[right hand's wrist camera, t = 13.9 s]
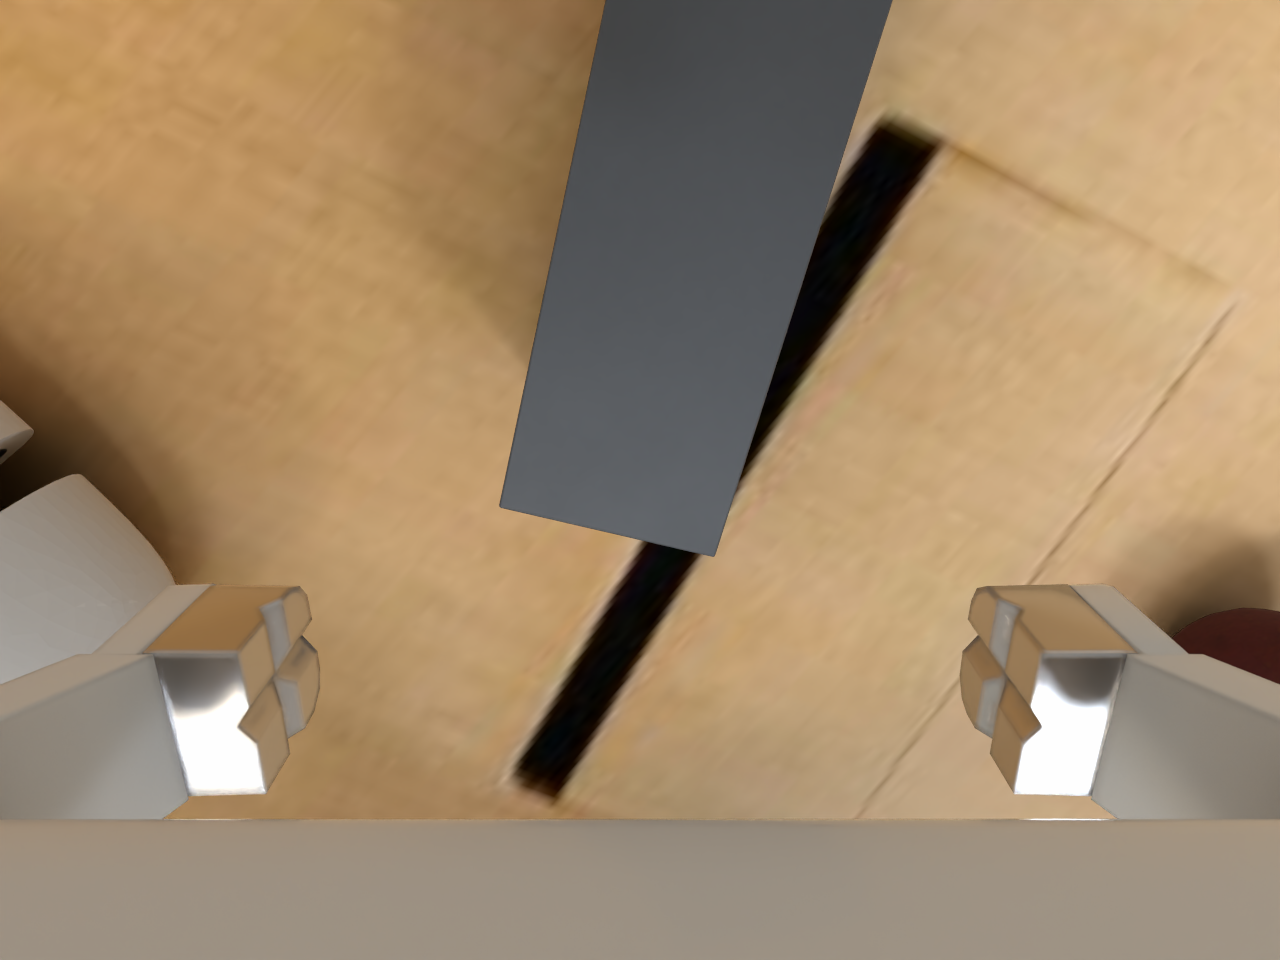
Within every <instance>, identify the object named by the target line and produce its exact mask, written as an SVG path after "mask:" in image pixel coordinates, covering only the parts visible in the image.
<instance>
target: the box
mask: <svg viewBox="0 0 1280 960" xmlns="http://www.w3.org/2000/svg"><path fill="white" fill-rule="evenodd" d="M892 1H893V0H606V1H605V6H604V11H603V15H602V20H601V25H600V30H599V34H598V39H597V44H596V49H595V53H594V58H593V63H592V68H591V72H590V77H589V82H588V87H587V91H586V96H585V101H584V106H583V110H582V115H581V120H580V125H579V129H578V134H577V139H576V144H575V148H574V153H573V158H572V163H571V167H570V172H569V177H568V182H567V186H566V191H565V196H564V201H563V205H562V210H561V215H560V219H559V224H558V229H557V234H556V238H555V243H554V248H553V253H552V257H551V262H550V267H549V272H548V276H547V281H546V286H545V291H544V295H543V300H542V305H541V310H540V314H539V319H538V324H537V329H536V333H535V338H534V343H533V348H532V352H531V357H530V362H529V367H528V371H527V376H526V381H525V386H524V390H523V395H522V400H521V405H520V409H519V414H518V419H517V424H516V428H515V433H514V438H513V443H512V447H511V452H510V457H509V462H508V466H507V471H506V476H505V481H504V485H503V490H502V495H501V500H500V504H499V506H500V507H501V508H504V509H509V510H513V511H517V512H522V513H526V514H530V515H535V516H539V517H543V518H548V519H552V520H556V521H561V522H565V523H569V524H574V525H578V526H582V527H587V528H591V529H595V530H599V531H604V532H608V533H612V534H617V535H621V536H625V537H630V538H634V539H638V540H643V541H647V542H651V543H656V544H660V545H664V546H669V547H673V548H677V549H682V550H686V551H690V552H695V553H699V554H703V555H708V556H712V557H714V556H715V554H716V551H717V548H718V545H719V541H720V538H721V535H722V532H723V529H724V526H725V523H726V520H727V516H728V513H729V510H730V507H731V504H732V501H733V498H734V495H735V491H736V488H737V485H738V482H739V479H740V476H741V473H742V470H743V466H744V463H745V460H746V457H747V454H748V451H749V448H750V445H751V441H752V438H753V435H754V432H755V429H756V426H757V423H758V420H759V416H760V413H761V410H762V407H763V404H764V401H765V398H766V394H767V391H768V388H769V385H770V382H771V379H772V376H773V373H774V369H775V366H776V363H777V360H778V357H779V354H780V351H781V348H782V344H783V341H784V338H785V335H786V332H787V329H788V326H789V323H790V319H791V316H792V313H793V310H794V307H795V304H796V301H797V298H798V294H799V291H800V288H801V285H802V282H803V279H804V276H805V273H806V269H807V266H808V263H809V260H810V257H811V254H812V251H813V248H814V244H815V241H816V238H817V235H818V232H819V229H820V226H821V223H822V219H823V216H824V213H825V210H826V207H827V204H828V201H829V198H830V194H831V191H832V188H833V185H834V182H835V179H836V176H837V173H838V169H839V166H840V163H841V160H842V157H843V154H844V151H845V148H846V144H847V141H848V138H849V135H850V132H851V129H852V126H853V123H854V119H855V116H856V113H857V110H858V107H859V104H860V101H861V98H862V94H863V91H864V88H865V85H866V82H867V79H868V76H869V73H870V69H871V66H872V63H873V60H874V57H875V54H876V51H877V48H878V44H879V41H880V38H881V35H882V32H883V29H884V26H885V23H886V19H887V16H888V13H889V10H890V7H891V4H892Z"/></svg>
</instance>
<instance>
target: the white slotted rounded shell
mask: <svg viewBox="0 0 1280 960" xmlns="http://www.w3.org/2000/svg"><path fill="white" fill-rule="evenodd" d="M33 433H34V430H33V429H32V428H31V427H30V426H29V425H28V424H26V423H25V422H24V421H23V420H22V419H21V418H20V417H19V416H18V415H16V414H15V413H14V412H13V411H12V410H11V409H10V408H9V407H8V406H7V405H5V404H4V403H3V402H2V401H1V400H0V465H1V464H2V463H3V462H4V461H5V460H7V459H8V458H9V457H10V456H11V455H13V454H14V453H15V452H16V451H17V450H18V449H20V448H21V447H22V446H23V445H24V444H25V443H26V442H27V441H28V440H29V439H30V438H31V437H32V435H33ZM170 585H176V584H175V582H174V579H173V577H172V575H171V573H170V571H169V570H168V568H167V566H166V565H165V563H164V561H163V560H162V559H161V557H160V556H159V555H158V553H157V552H156V551H155V549H154V548H153V547H152V545H151V544H150V543H149V542H148V541H147V539H146V538H145V537H144V536H143V535H142V534H141V533H140V532H139V531H138V530H137V529H136V527H135V526H134V525H133V524H132V523H131V522H130V521H129V520H128V519H127V518H126V517H125V516H124V515H123V514H122V513H121V512H120V511H119V510H118V509H117V508H116V507H115V506H114V505H113V504H112V503H111V502H110V501H109V500H108V499H107V498H106V497H105V496H104V495H103V494H102V493H101V492H99V491H98V490H97V489H96V488H95V487H94V486H93V485H92V484H91V483H90V482H89V481H88V480H87V479H86V478H85V477H84V476H82V475H81V474H73V475H69V476H66V477H64V478H61V479H59V480H56V481H54V482H52V483H50V484H48V485H46V486H44V487H42V488H40V489H38V490H36V491H35V492H33V493H31V494H29V495H27V496H26V497H24V498H22V499H21V500H19V501H17V502H15V503H14V504H12V505H10V506H9V507H7V508H6V509H4V510H2V511H1V512H0V684H3V683H5V682H8V681H10V680H13V679H15V678H18V677H20V676H23V675H26V674H28V673H31V672H33V671H36V670H38V669H41V668H43V667H46V666H48V665H51V664H54V663H56V662H59V661H61V660H64V659H66V658H69V657H71V656H74V655H76V654H92V653H93V652H94V651H95V650H96V649H97V648H99V647H100V646H101V645H102V644H103V643H104V642H105V641H106V640H108V639H109V638H110V637H111V636H112V635H113V634H114V633H115V632H117V631H118V630H119V629H120V628H121V627H122V626H123V625H124V624H126V623H127V622H128V621H129V620H130V619H131V618H132V617H133V616H135V615H136V614H137V613H138V612H139V611H140V610H141V609H142V608H144V607H145V606H146V605H147V604H148V603H149V602H150V601H151V600H153V599H154V598H155V597H156V596H157V595H158V594H159V593H160V592H162V591H163V590H164V589H165V588H166V587H167V586H170Z"/></svg>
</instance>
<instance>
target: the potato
mask: <svg viewBox="0 0 1280 960" xmlns="http://www.w3.org/2000/svg"><path fill="white" fill-rule="evenodd" d="M1171 639H1173V640H1174V641H1175V642H1176V643H1177V644H1178V645H1179V646H1180V647H1181V648H1183V649H1184V650H1185V651H1186V652H1187V653H1188V654H1204V655H1206V656H1209V657H1211V658H1214V659H1216V660H1219V661H1221V662H1224V663H1226V664H1229V665H1231V666H1234V667H1237V668H1239V669H1242V670H1244V671H1247V672H1249V673H1252V674H1254V675H1257V676H1259V677H1262V678H1264V679H1267V680H1270V681H1272V682H1275V683H1277V684H1280V612H1278V611H1272V610H1266V609H1255V608H1239V609H1233V610H1228V611H1223V612H1218V613H1214V614H1210V615H1208V616H1206V617H1203V618H1201V619H1199V620H1197V621H1195V622H1193V623H1191V624H1189V625H1187V626H1186V627H1185V628H1183V629H1182V630H1181V631H1180V632H1178V633H1177V634H1176V635H1175V636H1174V637H1172V638H1171Z"/></svg>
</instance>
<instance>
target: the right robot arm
mask: <svg viewBox="0 0 1280 960" xmlns="http://www.w3.org/2000/svg"><path fill="white" fill-rule="evenodd" d="M311 620H312V617H311V612H310V607H309V602H308V597H307V594H306V593H305V592H304V591H303V590H302V589H301V587H300V586H263V585H215V584H188V585H170V586H167V587H166V588H165V589H164V590H163V591H162V592H160V593H159V594H158V595H157V596H156V597H155V598H154V599H153V600H151V601H150V602H149V603H148V604H147V605H146V606H145V607H144V608H142V609H141V610H140V611H139V612H138V613H137V614H136V615H135V616H133V617H132V618H131V619H130V620H129V621H128V622H127V623H126V624H124V625H123V626H122V627H121V628H120V629H119V630H118V631H117V632H115V633H114V634H113V635H112V636H111V637H110V638H109V639H108V640H106V641H105V642H104V643H103V644H102V645H101V646H100V647H99V648H97V649H96V650H95V651H94V652H93V653H92V654H76V655H74V656H71V657H69V658H66V659H64V660H61V661H59V662H56V663H54V664H51V665H48V666H46V667H43V668H41V669H38V670H36V671H33V672H31V673H28V674H26V675H23V676H20V677H18V678H15V679H13V680H10V681H8V682H5V683H3V684H0V960H1280V684H1277V683H1275V682H1272V681H1270V680H1267V679H1264V678H1262V677H1259V676H1257V675H1254V674H1252V673H1249V672H1247V671H1244V670H1242V669H1239V668H1237V667H1234V666H1231V665H1229V664H1226V663H1224V662H1221V661H1219V660H1216V659H1214V658H1211V657H1209V656H1206V655H1204V654H1188V653H1187V652H1186V651H1185V650H1184V649H1183V648H1181V647H1180V646H1179V645H1178V644H1177V643H1176V642H1175V641H1174V640H1173V639H1171V638H1170V637H1169V636H1168V635H1167V634H1166V633H1165V632H1164V631H1162V630H1161V629H1160V628H1159V627H1158V626H1157V625H1156V624H1155V623H1153V622H1152V621H1151V620H1150V619H1149V618H1148V617H1147V616H1146V615H1145V614H1143V613H1142V612H1141V611H1140V610H1139V609H1138V608H1137V607H1136V606H1134V605H1133V604H1132V603H1131V602H1130V601H1129V600H1128V599H1127V598H1125V597H1124V596H1123V595H1122V594H1121V593H1120V592H1119V591H1118V590H1117V589H1115V588H1114V587H1113V586H1109V585H1106V584H1081V585H1068V584H1061V585H1019V586H986V587H981V588H977V589H976V592H975V594H974V596H973V598H972V600H971V605H970V611H969V617H968V620H969V622H970V623H971V625H972V626H973V628H974V629H975V631H976V633H977V634H978V636H977V637H976V638H975V639H974V640H973V641H972V642H971V643H970V644H969V645H968V646H967V647H966V648H965V649H964V650H963V653H962V661H961V669H960V684H961V695H962V700H963V703H964V706H965V709H966V712H967V715H968V717H969V718H970V720H971V722H972V724H973V725H974V727H975V728H976V729H977V730H979V731H981V732H982V733H984V734H986V735H987V736H989V737H991V738H992V744H991V750H990V754H991V756H992V758H993V760H994V761H995V763H996V765H997V766H998V768H999V770H1000V771H1001V773H1002V775H1003V776H1004V778H1005V780H1006V781H1007V783H1008V785H1009V786H1010V788H1011V790H1012V791H1013V793H1014V794H1034V795H1071V796H1092V798H1091V800H1093V801H1094V802H1095V803H1097V804H1098V805H1100V806H1101V807H1102V808H1104V809H1105V810H1106V811H1108V812H1109V813H1110V814H1112V815H1113V816H1115V817H1116V818H1117V819H163V818H164V817H166V816H167V815H168V814H170V813H171V812H173V811H174V810H175V809H177V808H178V807H179V806H181V805H182V804H183V803H185V802H186V801H188V799H189V798H188V796H208V795H244V794H266V793H267V791H268V790H269V788H270V786H271V785H272V783H273V781H274V780H275V778H276V776H277V775H278V773H279V771H280V770H281V768H282V766H283V765H284V763H285V761H286V760H287V758H288V756H289V754H290V750H289V744H288V738H290V737H291V736H293V735H294V734H296V733H298V732H299V731H301V730H303V729H304V728H305V727H306V725H307V724H308V722H309V720H310V718H311V716H312V715H313V713H314V710H315V706H316V702H317V698H318V693H319V689H320V666H319V660H318V653H317V650H316V649H315V648H314V647H313V646H312V645H311V644H310V643H309V642H308V641H307V640H306V639H305V638H304V637H303V636H302V634H303V633H304V631H305V629H306V628H307V626H308V625H309V623H310V622H311Z"/></svg>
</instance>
